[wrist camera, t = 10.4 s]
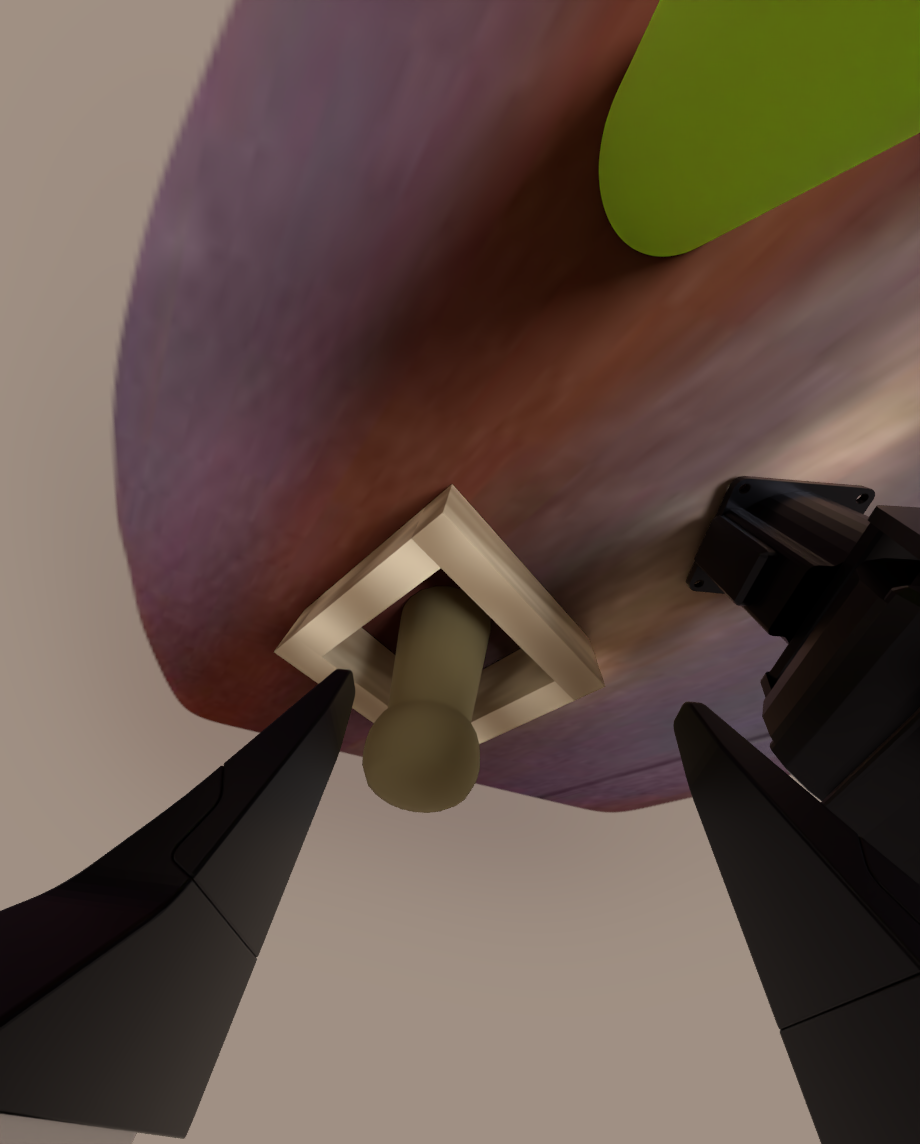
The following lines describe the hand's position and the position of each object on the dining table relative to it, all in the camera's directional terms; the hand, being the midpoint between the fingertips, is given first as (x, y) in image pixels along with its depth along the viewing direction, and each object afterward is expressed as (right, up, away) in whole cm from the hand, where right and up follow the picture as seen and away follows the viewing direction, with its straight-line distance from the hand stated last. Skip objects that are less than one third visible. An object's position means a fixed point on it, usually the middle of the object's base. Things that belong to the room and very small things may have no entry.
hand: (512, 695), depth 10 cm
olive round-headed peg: (-2, 0, +14) cm, 15 cm away
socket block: (-2, 0, +14) cm, 14 cm away
